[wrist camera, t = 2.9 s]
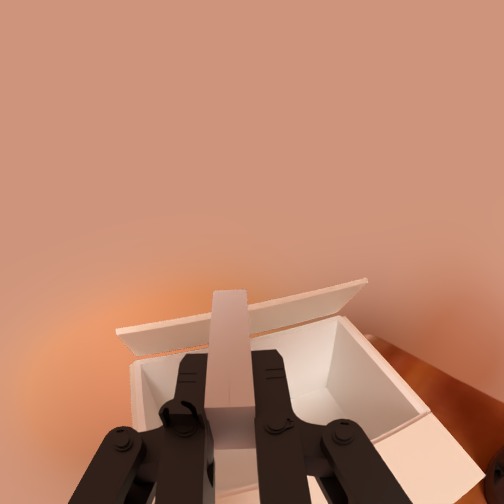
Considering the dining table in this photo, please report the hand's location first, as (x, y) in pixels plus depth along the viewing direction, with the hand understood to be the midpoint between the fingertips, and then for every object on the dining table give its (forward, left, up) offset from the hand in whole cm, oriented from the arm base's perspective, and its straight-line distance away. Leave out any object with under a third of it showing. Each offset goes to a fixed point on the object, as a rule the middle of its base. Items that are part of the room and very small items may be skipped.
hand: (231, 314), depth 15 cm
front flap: (-5, -15, -13) cm, 21 cm away
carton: (-5, -3, -33) cm, 33 cm away
